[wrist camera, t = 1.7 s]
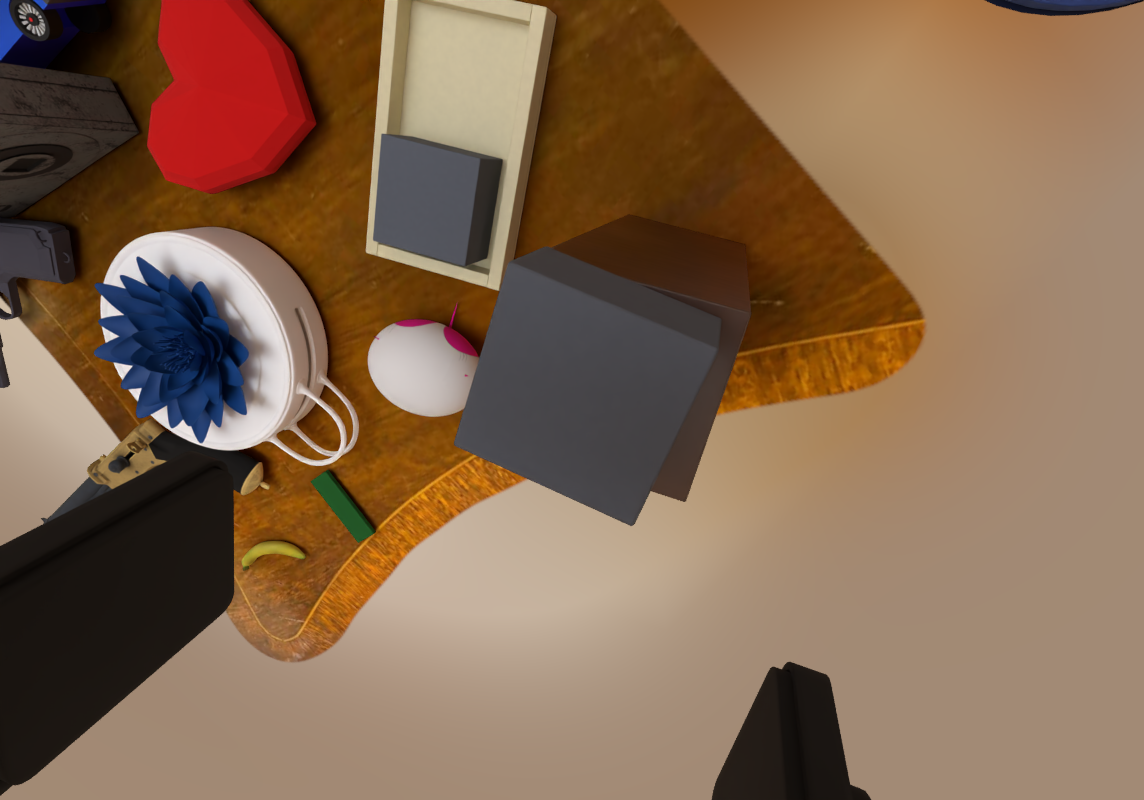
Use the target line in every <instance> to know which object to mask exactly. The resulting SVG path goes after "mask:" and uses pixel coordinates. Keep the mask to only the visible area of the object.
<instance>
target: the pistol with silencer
mask: <svg viewBox="0 0 1144 800" xmlns="http://www.w3.org/2000/svg"><path fill="white" fill-rule="evenodd" d="M188 451H195V452H198V453H201V454H203V455H206V456H209V457H212V458H215V459H218V460H220V461H222V462H224V463H225V464H226V465H227V467H228V472H229V473H230V474H231V475H232V477H233V489H234V490H236V491H237V492H239V493H240V494H242V495H246V494H248V493H251V492H252V491H254V490H255V489H256V488H257V487H258V486H259V485H260V486H261V487H263V488H265V489H269V488H270V485H269V484H267V483H266V482H263V465H262V462H258V461H256V460H255V459H253V458H251V457H249V456H247V455H245V454H244V453H242V452H240V451H237V450H218V449H212V448H208V447H204V446H201V445H198V444H195V443H193V442H190V441H188V440H186V439H184V438H182V437H180V436H178V435H176V434H173V433H170V432H167V431H165V430H164V429H163V428H162V427H161V426H160V425H159V424H158V423H156V422H155V421H154V420H153V419H152V418H150V419H149V420H147V421H146V422H145V423H143V424H140V425H139V426H137V427H136V428H135V429H134V430H133V431H132V432H131V433H130V434H129V435H128V436H127V437H126V438H125V439H124V440H123V441H122V442H121V443H120V444H119V445H118V446H117V447H116V448H115V449H114V450H113V451H112V452H111V453H110V454H109V455H108V456H107V457H106V456H105V455H103V456H101V457H100V459H98V460H97V461H95V462H93V463H92V464H91V465H90V466H89V467H88V469H87V472H88V474H89V476H90V477H89V478H88V479H87V480H86V481H85V482H84V483H83V484H82V485H81V486H80V487H79V488H78V489H77V490H76V491H75V492H74V493H73V494H72V495H71V496H70V497H69V498H68V499H67V500H66V501H65V502H64V503H63V504H62V505H61V506H60V507H59V508H58V509H57V510H56V511H55V512H54V513H53V515H52V516H50V517H49V518H48V519H45V518H41V519H42V520H43V521H44V524H45V523H47V522H49V521H51V520H53V519H55V518H57V517H58V516H60V515H62V514H64V513H66V512H68V511H70V510H72V509H74V508H76V507H78V506H80V505H82V504H84V503H86V502H88V501H90V500H92V499H94V498H96V497H98V496H100V495H102V494H104V493H106V492H108V491H109V490H111V489H113V488H115V487H117V486H119V485H121V484H123V483H125V482H127V481H129V480H131V479H133V478H135V477H137V476H139V475H141V474H143V473H145V472H147V471H149V470H151V469H153V468H155V467H157V466H159V465H160V464H162V463H164V462H166V461H168V460H170V459H172V458H174V457H176V456H178V455H180V454H182V453H185V452H188Z"/></svg>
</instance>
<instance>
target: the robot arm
mask: <svg viewBox="0 0 1144 800" xmlns="http://www.w3.org/2000/svg"><path fill="white" fill-rule="evenodd" d="M233 595H234V503H233V477H232V475H231V474H230V473H229V472H228V467H227V465H226V464H225V463H224V462H222V461H220V460H218V459H215V458H212V457H209V456H206V455H203V454H201V453H198V452H195V451H188V452H185V453H182V454H180V455H178V456H176V457H174V458H172V459H170V460H168V461H166V462H164V463H162V464H160V465H159V466H157V467H155V468H153V469H151V470H149V471H147V472H145V473H143V474H141V475H139V476H137V477H135V478H133V479H131V480H129V481H127V482H125V483H123V484H121V485H119V486H117V487H115V488H113V489H111V490H109V491H108V492H106V493H104V494H102V495H100V496H98V497H96V498H94V499H92V500H90V501H88V502H86V503H84V504H82V505H80V506H78V507H76V508H74V509H72V510H70V511H68V512H66V513H64V514H62V515H60V516H58V517H57V518H55V519H53V520H51V521H49V522H47V523H45V524H43V525H41V526H39V527H37V528H35V529H33V530H31V531H29V532H27V533H25V534H23V535H21V536H19V537H17V538H16V539H13V540H12V541H9V542H8V543H6V544H4V545H2V546H0V795H2V794H3V793H4V792H5V791H7V790H8V789H9V788H10V787H11V786H12V785H19V784H22V783H24V782H26V781H28V780H29V779H31V778H32V777H33V776H35V775H36V774H37V773H38V772H39V771H41V770H42V769H43V768H44V767H45V766H46V765H48V764H49V763H50V762H51V761H52V760H53V759H55V758H56V757H57V756H58V755H59V754H60V753H62V752H63V751H64V750H65V749H66V748H67V747H68V746H69V745H71V744H72V743H73V742H74V741H75V740H77V739H78V738H79V737H80V736H81V735H82V734H83V733H85V732H86V731H87V730H88V729H89V728H90V727H92V726H93V725H94V724H95V723H96V722H97V721H99V720H100V719H101V718H102V717H103V716H104V715H106V714H107V713H108V712H109V711H110V710H111V709H112V708H113V707H115V706H116V705H117V704H118V703H119V702H120V701H122V700H123V699H124V698H125V697H126V696H128V695H129V694H130V693H131V692H132V691H133V690H134V689H136V688H137V687H138V686H139V685H140V684H141V683H143V682H144V681H145V680H146V679H147V678H148V677H149V676H151V675H152V674H153V673H154V672H155V671H156V670H157V669H159V668H160V667H161V666H162V665H163V664H165V663H166V662H167V661H168V660H169V659H170V658H172V656H174V655H175V654H176V653H177V652H179V651H180V650H181V649H182V648H183V647H184V646H185V645H186V644H188V643H189V642H190V641H191V640H192V639H194V638H195V637H196V636H197V635H198V634H199V633H201V632H202V631H203V630H204V629H205V628H206V627H207V626H208V625H210V624H211V623H212V622H213V621H214V620H216V619H217V618H218V617H219V616H220V615H221V614H222V613H223V612H224V611H225V610H226V609H227V608H228V606H229V605H230V603H231V601H232V598H233ZM712 800H871V799H870V797H869V796H868V794H867V793H866V791H864V790H862V789H860V788H858V787H855V786H852V785H850V782H849V777H848V771H847V766H846V761H845V755H844V750H843V745H842V739H841V734H840V729H839V724H838V718H837V713H836V708H835V703H834V697H833V692H832V687H831V682H830V679H829V677H828V676H827V675H826V674H823V673H820V672H817V671H814V670H812V669H808V668H806V667H803V666H800V665H797V664H795V663H792V662H787V663H786V664H785V665H784V667H783V669H779V668H776V667H772V668H770V670H769V672H768V673H767V676H766V678H765V680H764V682H763V684H762V686H761V688H760V690H759V692H758V694H757V697H756V699H755V701H754V703H753V705H752V707H751V709H750V711H749V713H748V716H747V718H746V719H745V722H744V724H743V726H742V728H741V730H740V732H739V734H738V736H737V738H736V740H735V743H734V745H733V747H732V749H731V751H730V753H729V755H728V757H727V759H726V761H725V763H724V766H723V768H722V770H721V772H720V774H719V776H718V778H717V781H716V783H715V787H714V790H713V796H712Z"/></svg>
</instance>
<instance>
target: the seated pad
mask: <svg viewBox="0 0 1144 800" xmlns="http://www.w3.org/2000/svg"><path fill="white" fill-rule="evenodd" d="M502 162H503V159H500V158H496V157H492V156H488V155H484V154H480V153H476V152H472V151H468V150H464V149H461V148H457V147H453V146H449V145H445V144H441V143H437V142H433V141H429V140H425V139H421V138H417V137H413V136H403V135H393V134H381V146H380V158H379V171H378V183H377V195H376V208H375V220H374V232H373V241H376V242H380V243H383V244H387V245H390V246H394V247H397V248H401V249H404V250H408V251H411V252H415V253H418V254H422V255H426V256H429V257H433V258H436V259H440V260H443V261H447V262H450V263H454V264H457V265H461V266H467V265H470V264H473V263H476V262H479V261H481V260H484V259H487V256H488V250H489V244H490V237H491V231H492V225H493V219H494V212H495V206H496V200H497V193H498V187H499V181H500V175H501V168H502Z"/></svg>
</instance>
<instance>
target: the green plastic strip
mask: <svg viewBox="0 0 1144 800" xmlns="http://www.w3.org/2000/svg"><path fill="white" fill-rule="evenodd" d="M311 483H312V484H313V485H314V487H315V488H316V489H317V491H318V492H319V493H320V494H321V496H322V497H323V498H324V500H325V501H326V502H327V503H328V505H329V506H330V507H331V509H332V510H333V511H334V512H335V514H336V515H337V516H338V518H339V519H340V520H341V521H342V523H343V524H344V525H345V527H346V528H347V529H348V530H349V532H350V533H351V534H352V535H353V537H354V538H355V539H356V541H357V542H358V543H359V542H360V541H362V540H364V539H366V538H367V537H369V536H371V535H373V534H374V533H375V532H376V531H375V530H374V529H373V527H372V526H371V525H370V523H369V522H368V521H367V520H366V518H365V517H364V516H363V514H362V513H361V512H360V510H359V509H358V508H357V507H356V505H355V504H354V503H353V501H352V500H351V499H350V497H349V496H348V495H347V494H346V492H345V491H344V490H343V488H342V487H341V486H340V484H339V483H338V482H337V481H336V479H335V478H334V477H333V475H332V474H331V473H330V472H329V470H327V471H325V472H324V473H322V474H321V475H319V476H318V477H316V478H315V479H314V480H312V481H311Z"/></svg>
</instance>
